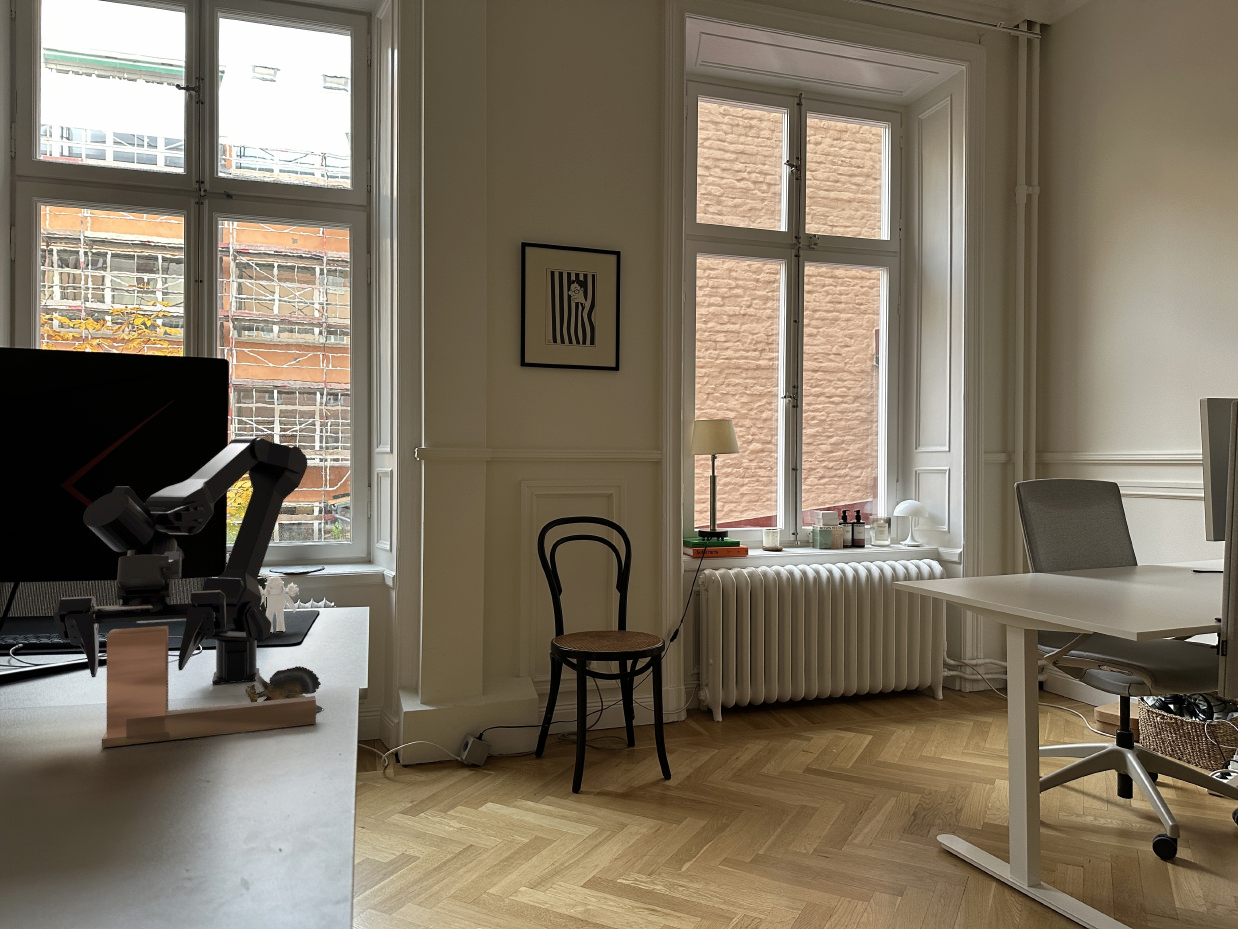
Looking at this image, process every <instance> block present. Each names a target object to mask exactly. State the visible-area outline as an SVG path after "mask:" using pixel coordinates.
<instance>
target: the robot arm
mask: <svg viewBox="0 0 1238 929" xmlns="http://www.w3.org/2000/svg"><path fill="white" fill-rule="evenodd" d="M307 468H308V458H307V456H306V454H305V453H303V451H302V449H301V448H300V447H299V446H296V445H295V446H294V445H284V444H281V443H277V442H272V441H269V440H267V439H265V438H263V437H261V436H236V437H235V438H232V439H230V440H229V442H228V445H227V446H226V447H225V448H223V449H222V450H221V451H220V452H219V453H217V454H216V455H215V456H214V457H213V458H211V459H210V461H208V462H207V463H206V464H205V465H204V466H202V467H201V468H200V469H198V470H197V471H196V472H195V473H194V474H192V476H190V477H189V478H188V479H186V480H184V481H182V482H179V483H175V484H173V485H169V486H166V487H164V488H162V489H161V490H158V491H157V492H155V493H153V494H151V495H149V497H148V498H147V499H146V500H145V502H143V501H142V500H141V499H140V498H139V497H138V496H137V495H136V493H135V491H134V490H133V489H132V488H131V487H130V486H115V487H114V488H113V490H112V492H109V493H107V494H105V495H102V496H101V497H99V498H97V499H96V500H95V501H94V502H92V503H91V504H88V506H87V507H86V508H85V510H84V513H83V515H82V520H83V523H84V525H86V527H88V528H89V529H90V530H91V531H92V532H93V533H95V535H96V536H98V538H100V540H102V541H103V542H104V543H105V544H106V545H107V546H108V547H109V548H111V549H112V550H113V551H115V552H118V553H124V552H127V554H126V555H122V556H120V557H119V558H118V566H117V577H116V583H117V587H116V588H117V589H116V599H117V600H118V601H119V600H120V602H119V605H105V606H104V605H102V606H97V603H96V599H95V598H96V597H95V596H75V597H74V596H73V597H62V598H60V599H59V600H58V601H57V602H56V603H55V604H54V609H53V614H52V615H53V619H54V622H55V627H56V629H57V630H56V631H57V634H58V637H59V640H62V641H64V642H70V644H71V645H73V646H80V647H81V649H82V651H83V653H84V654H85V656H86V659H87V664H88V667H89V672H90V677H91V678H96V677H97V673H98V670H99V668H98V667H99V648H100V647H99V646H100V640H99V636H98V635H99V634H98V633H99V625H100V624H116V623H136V624H137V623H138V624H143V623H144V624H146V623H157V622H158V623H161V622H176V621H177V622H178V621H185V625H184V629H183V635H182V639H181V644H180V648H179V654H178V663H177V664H178V666H177V669H178V671H179V672H181V671H183V670H184V668H185V666H186V665H187V663H188V662H189V660H190V658H191V657H192V656H193V654H194V652H195V651H196V650H197V648H198V647H199V646H200V645H201V643H202V642H204V641H207V640H213V641H214V640H215V642H216V643H215V647H216V648H215V656H216V657H215V658H216V659H215V660H216V661H215V663H216V664H215V671H214V672H213V676H212V681H211V682H212V685H213V684H215V685H217V684H228V683H238V682H240V683H241V682H247V681H250V682H251V681H256V679H255V677H256V676H257V675H260V667H257V641H264V640H266V638H269V637H270V634H271V633H270V630H271V625H272V624H273V622H272V623H271V622H270V620H269V619H268V618H267V616H266V613H265V612H264V611H263V610H262V608H261V606H260V605H262V604H261V600H262V596H261V592H260V589H259V586H260V584H259V583H258V578H259V577H260V573H261V570H262V566H263V563H264V561H265V558H266V554H267V551H268V548H269V545H270V543H271V542H270V541H271V540H272V536H273V533H274V530H275V528H276V525H277V521H278V518H279V515H280V512H281V509H282V506H283V504H284V501H285V499H287V497H289V496H290V495H291V494H292V493H293V492H294V491H296V490H297V488H299V487H300V484H301V482H302V480H303V478H304V476H305V474H306V472H307ZM247 473H248V477H249V481H250V485H251V488H252V492H251V495H250V496H249V497H250V498H249V500H248V503H247V507H246V509H245V512H244V516H243V518H242V520H241V523H240V526H239V529H238V532H237V534H236V537H235V540H234V542H233V545H232V548H231V552H230V554H229V556H228V558H227V559H228V560H227V562H226V565H225V568H224V571H223V572H222V573H221V574H220V575H218V576H217V577H213V576H212V577H211V576H210V577H207V578H206V580H205V581H204V583H203V586H202V589H201V591H197V590H196V591H191V594H190V602H189V603H174V604H173V603H172V595H173V587H174V580H180V579H181V578H182V562H183V561H182V560H184V558H185V555H184V552H183V549H181V548H180V547H179V546H178V542H177V540H176V539H175V537H173V536H172V535H195V534H198V533H200V532H201V531H202V530H203V528H204V527H205V526H206V525H207V523H208V522H209V520H210V519H212V516H213V515H214V513H215V503H216V502H217V501H218V500H219V499H220V498H221V497H222V496H223V495H224V494H225V493H226V492H227V491H228V490H230V489H231V488H232V487H233V486H234V485H235V484H236V483H237V482H238V481H239V480H241V478H242V477H244V476H245V475H246V474H247ZM260 608H261V609H260Z"/></svg>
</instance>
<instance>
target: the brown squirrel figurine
mask: <svg viewBox="0 0 1238 929" xmlns="http://www.w3.org/2000/svg"><path fill="white" fill-rule="evenodd" d="M255 679H256V680H255V681H256V682H257V683H256V684H257V685H258V686H259V687H260V688H261V689H262V690H261V691H259V692H257V688H256V684H255V683H253V684H251V685H247V686H246V687H247V688H245V694H246V695H247V698H248V700H249V703H250V702H258V699H260V698H261V699H262V698H264V697H265V698H264V699H262V701H270V700H280V699H290V698H300V697H307V696H306V695H311V694H315V693H317V690H318V689H319V688H320V686H321V684H322V683H321V681H319V679H320V678H319V676H317V674H316V673H314V670H311V669H309V668H307V667H304V666H300V665H299V666H297V665H295V666H293V667H289V668H286V669H280V670H279V669H278V670H277V671H276V672H274V673H273V674H272V675H271V677H269V680H268V681H269V682H268V681H266V680H265V679H264V678H263V677H262V675H260V674H259V675H257V676H256V677H255ZM322 709H324V708H323V707H322V706H320V705H318V704H316V713H318V712H323V711H322Z"/></svg>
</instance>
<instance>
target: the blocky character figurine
mask: <svg viewBox="0 0 1238 929" xmlns="http://www.w3.org/2000/svg"><path fill="white" fill-rule="evenodd" d="M259 577H261V579H262V578H263V579H264V581H266V582H264V584H265V588H264V589H263V588H262V586H260V585H259V589H260V592H261V596H262V600H261V605H262V604H263V603H264V607H265V608H266V597H267V608H266V611H265V615H266V616H267V618H268V619H269V620H270V622H271V623H272V625H271V630H270V632H272V633H274V627H273V626H274V625H273V620H274V616H275V618H276V631H283V632H286V628H285V617H284V616H285V614H284V612H285V610H284V608H285V606H286V603H287V605H288V608H289V609H290V610H292V612H293V613H296V611H297V607H296V605H295V602H294V601H293V599H292V598H291V597H295V596H296V595H298V596H299V594H300V592H299V591H300V588H299V587H298V584H295V583H293V581H292V582H291V583H290V584H287V587H284V586H285V585H284V584H285V582H284V581H283V579H282V578H281V577H280V576H270V573H267V574H266V573H263V572H260V573H259ZM265 578H266V579H267V580H266V579H265ZM261 605H260V609H261V610H262V608H261Z"/></svg>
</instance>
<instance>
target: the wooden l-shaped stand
mask: <svg viewBox="0 0 1238 929" xmlns="http://www.w3.org/2000/svg"><path fill="white" fill-rule="evenodd" d="M316 699H317V698H316V696H315V695H313V696H306V697H300V698H290V699H280V700H270V701H263V700H261V701H257V702H250V701H249V702H243V703H241V702H240V703H234V704H232V703H231V704H225V705H224V704H223V705H222V704H221V705H212V706H211V705H210V706H203V707H193V708H192V707H191V708H183V709H181V708H180V709H170V710H169V625H163V626H162V625H161V626H160V625H159V626H146V627H145V626H144V627H130V628H127V627H126V628H113V629H111V630H110V631H109V632H108V634H107V635H106V731H105V733H104V734H103V736H102V738H101V748H110V747H112V748H113V747H118V746H119V747H120V746H128V745H139V744H145V743H146V744H147V743H155V742H162V741H163V742H164V741H172V740H173V741H174V740H182V739H188V738H189V739H190V738H191V739H192V738H199V737H208V736H217V735H225V734H232V733H233V734H234V733H244V732H253V731H263V730H270V729H279V728H288V727H296V726H305V725H313V724H314V725H315V724H317V712H316V705H317V700H316Z"/></svg>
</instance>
